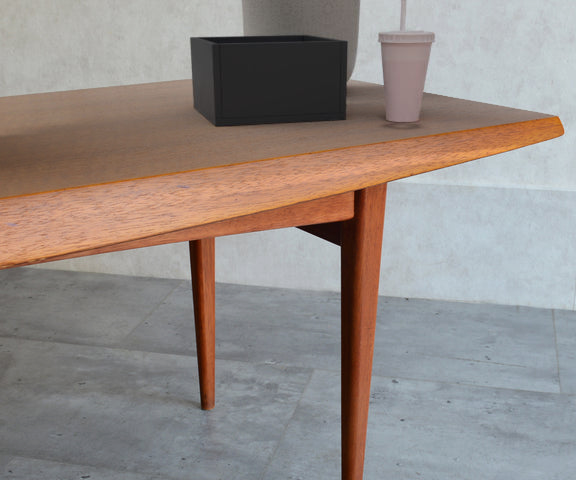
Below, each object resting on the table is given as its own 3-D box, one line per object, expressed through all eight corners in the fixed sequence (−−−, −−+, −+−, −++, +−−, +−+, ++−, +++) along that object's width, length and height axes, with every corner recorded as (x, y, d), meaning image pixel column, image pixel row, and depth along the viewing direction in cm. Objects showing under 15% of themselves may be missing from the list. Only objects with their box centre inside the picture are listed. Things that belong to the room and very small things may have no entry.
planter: (325, 103, 99) (327, -18, 94) (221, 96, 107) (217, -17, 102) (376, 90, 113) (380, -17, 107) (280, 84, 121) (279, -16, 115)
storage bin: (215, 126, 83) (211, 44, 79) (193, 107, 97) (189, 37, 93) (346, 119, 87) (347, 40, 83) (307, 102, 101) (307, 34, 97)
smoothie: (365, 117, 88) (369, -9, 83) (412, 114, 90) (418, -9, 85) (391, 125, 82) (397, -10, 77) (440, 121, 84) (449, -10, 79)
